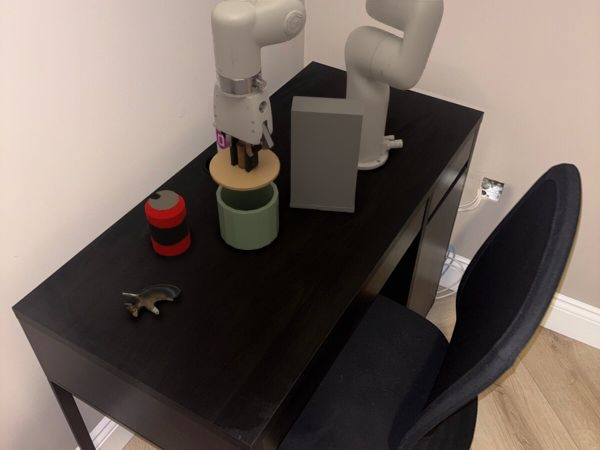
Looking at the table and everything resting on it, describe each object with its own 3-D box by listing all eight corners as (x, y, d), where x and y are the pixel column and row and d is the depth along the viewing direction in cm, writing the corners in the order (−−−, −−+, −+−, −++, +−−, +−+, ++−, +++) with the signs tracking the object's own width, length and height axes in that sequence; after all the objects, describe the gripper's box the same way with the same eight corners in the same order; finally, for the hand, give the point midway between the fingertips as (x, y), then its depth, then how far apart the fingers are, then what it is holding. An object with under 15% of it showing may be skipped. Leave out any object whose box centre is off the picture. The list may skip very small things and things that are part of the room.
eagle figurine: (148, 333, 105) (188, 301, 109) (124, 303, 103) (166, 270, 106) (136, 323, 112) (175, 293, 115) (114, 294, 109) (154, 264, 113)
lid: (273, 146, 120) (273, 119, 115) (285, 188, 111) (285, 161, 106) (207, 153, 118) (203, 126, 113) (213, 197, 109) (210, 170, 104)
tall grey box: (354, 194, 134) (364, 97, 117) (353, 213, 130) (363, 115, 113) (292, 190, 135) (293, 93, 118) (289, 209, 131) (290, 111, 113)
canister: (273, 208, 131) (272, 170, 124) (283, 247, 123) (282, 209, 115) (218, 215, 129) (213, 177, 122) (224, 255, 121) (219, 216, 113)
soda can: (168, 226, 126) (159, 182, 118) (198, 238, 124) (191, 194, 116) (145, 249, 122) (135, 205, 113) (176, 262, 119) (167, 218, 111)
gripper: (292, 82, 100) (291, 170, 112) (215, 55, 106) (223, 140, 119) (265, 103, 95) (268, 191, 108) (187, 73, 101) (198, 160, 114)
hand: (244, 164), depth 113 cm, fingers closed on lid, 2 cm apart
